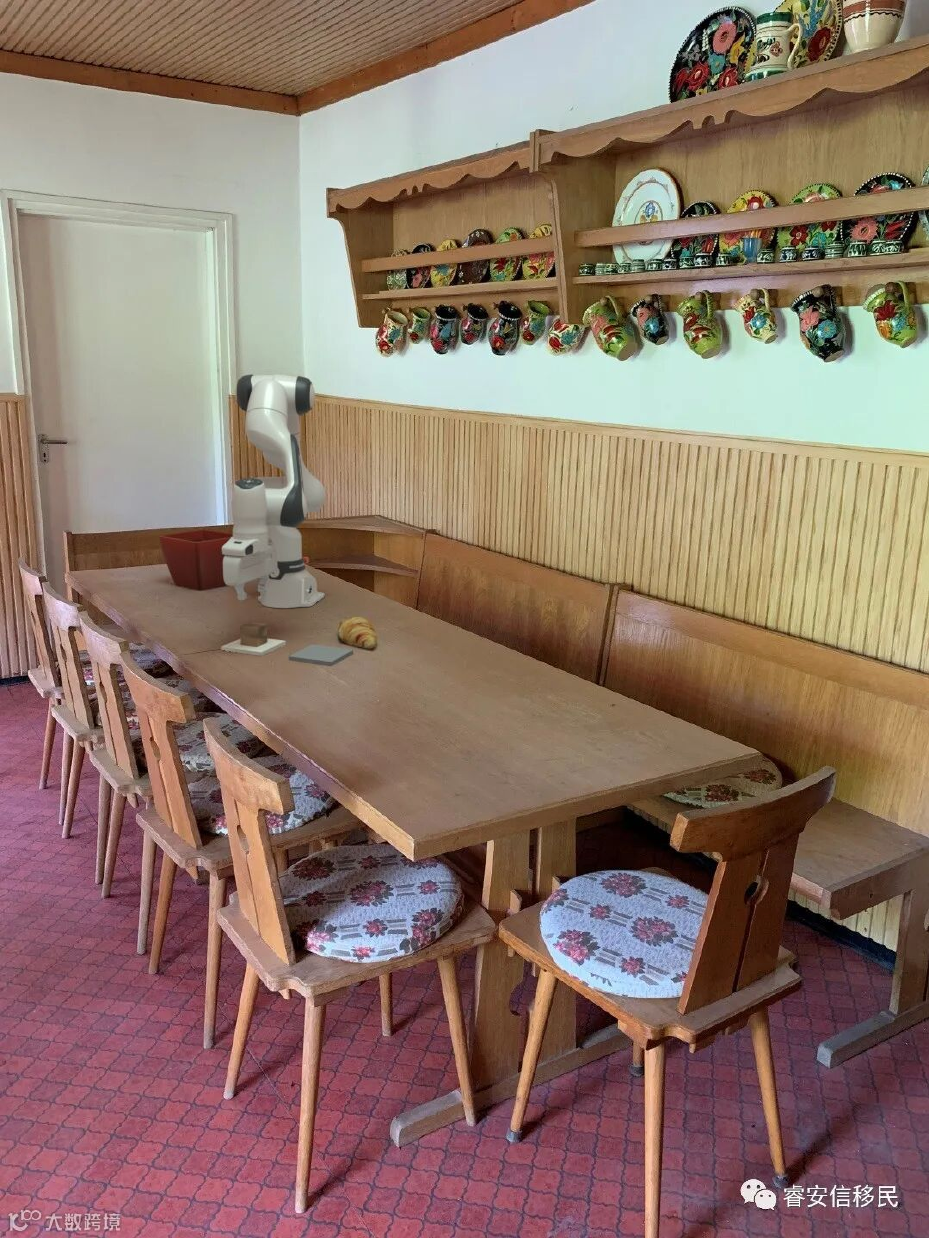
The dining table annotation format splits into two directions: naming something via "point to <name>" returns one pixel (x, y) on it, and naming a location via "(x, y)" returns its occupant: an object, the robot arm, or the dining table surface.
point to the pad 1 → (258, 651)
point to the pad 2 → (321, 655)
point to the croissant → (357, 632)
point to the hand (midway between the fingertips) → (252, 595)
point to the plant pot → (195, 558)
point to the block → (253, 634)
